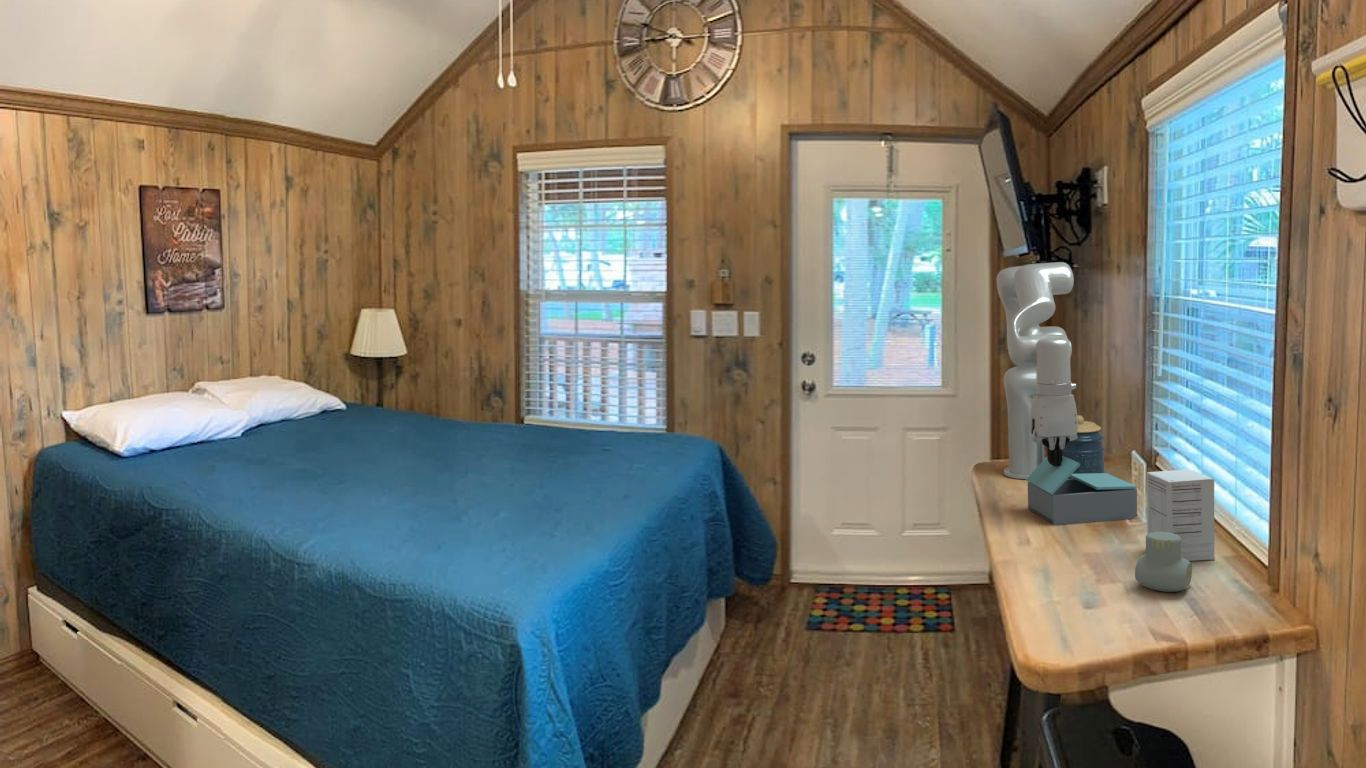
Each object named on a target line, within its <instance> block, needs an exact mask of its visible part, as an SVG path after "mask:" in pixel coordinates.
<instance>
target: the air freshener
mask: <svg viewBox="0 0 1366 768" xmlns="http://www.w3.org/2000/svg"><path fill="white" fill-rule="evenodd" d="M1134 570H1135V571H1134V578H1135V580H1136V582H1137V583H1138V584H1140V585H1142V586H1143V587H1145V588H1148V589H1150V590H1153V591H1157V592H1162V593H1163V592H1165V593H1175V592H1180V591H1183V590H1186V589H1188V588H1189V586H1190V584H1191V581H1192V576H1193V565H1192V561H1188V560H1186V559H1185V558H1183V557H1182V544H1181V537H1180V536H1178V535H1177V534H1174V533H1169V532H1151V533H1149V534H1146V535H1145V554H1142V555H1140V556H1139V557H1138V558H1137V560H1136V564H1135V568H1134Z"/></svg>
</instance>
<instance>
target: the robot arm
mask: <svg viewBox="0 0 1366 768" xmlns="http://www.w3.org/2000/svg"><path fill="white" fill-rule="evenodd" d="M1074 277H1075V276H1074V273H1073V270H1072V268H1071V266H1070V265H1069V264H1067V262H1064V261H1061V262H1060V261H1059V262H1058V261H1056V262H1041V263H1030V264H1026V265H1019V266H1009V267H1006V268H1003V269H1001V270H1000V271H999V272H998V273H997V275H996V287H997V292H998V296H999V299H1000V302H1001V303H1002V306H1003V309H1004V313H1005V316H1006V317H1005V319H1006V342H1007V352H1008V355H1009V359H1010V360H1011V361H1012V363H1013V364H1014V367H1011V368H1009V369H1008V370H1006V372H1005V373H1004V376H1003V386H1004V392H1005V397H1006V406H1007V431H1008V433H1007V434H1008V466H1007V468H1006V467H1005V468H1004V469H1003V475H1004V476H1005V477H1008V478H1012V479H1018V480H1026V479H1027V478H1028V477H1029V476H1030V475H1031V474H1032V472H1033V471H1034V470H1035V469H1036V468H1037V467H1038V466H1039V465H1040V464H1041V463H1042V462H1043V461H1044V459H1045V448H1046V450H1047V451H1046V455H1047V456H1046V457H1047V459H1048V462H1049V464H1051V465H1053V466H1057V465H1058V466H1061V461H1062V460H1063V459H1062V449H1064V447H1065V445H1066V444H1067V443H1068V442H1069V441H1072V440H1076V439H1077V438H1078V436H1077V432H1078V417H1077V415H1078V411H1077V404H1076V400H1075V395H1074V394H1072V391H1073V390H1077V384H1076V383H1072V381H1071V380H1072V378H1071V374H1072V373H1071V372H1072V371H1071V357H1072V354H1073V353H1072V352H1073V347H1072V343H1071V340H1069V338H1068V336H1067V333H1066V331H1065V330H1064V329H1063V328H1062V327H1060V326H1052V325H1051V326H1049V325H1048V326H1040V324H1042V323H1044V322H1046V321H1047V320H1049V319H1050V318H1052V316H1053V315H1054V313H1055V311H1056V303H1055V300H1054V295H1055V296H1056V295H1067V294H1069V293H1071V292H1072V290H1073V288H1074V281H1075V278H1074ZM1015 365H1016V366H1015ZM1054 437H1056V438H1054ZM1054 439H1055V440H1054Z"/></svg>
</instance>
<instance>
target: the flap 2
mask: <svg viewBox="0 0 1366 768" xmlns="http://www.w3.org/2000/svg"><path fill="white" fill-rule="evenodd" d="M1070 477H1072V478H1074V479H1076V480H1078V481H1080V482H1082V483H1084V484H1086V485H1088V486H1090V487H1092V488H1094V489H1096V490H1101V489H1137V488H1138V487H1137V485H1134V484H1132V483H1130V482H1128V481H1126V480H1123V479H1121V478H1118V477H1117V476H1114V475H1112V474H1110V473H1107V472H1105V473H1088V474H1071V475H1070Z"/></svg>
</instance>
